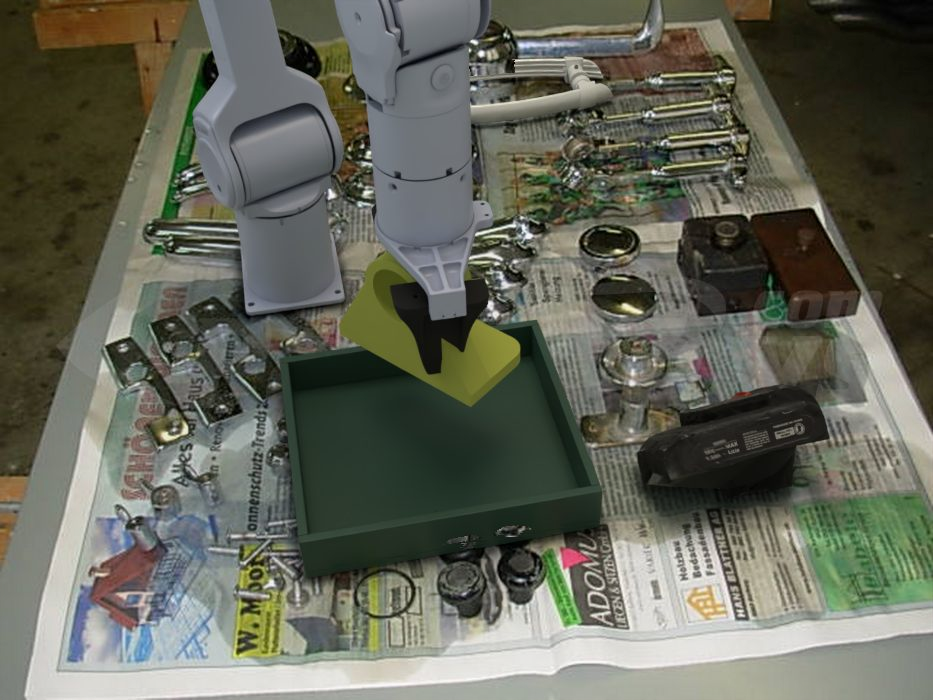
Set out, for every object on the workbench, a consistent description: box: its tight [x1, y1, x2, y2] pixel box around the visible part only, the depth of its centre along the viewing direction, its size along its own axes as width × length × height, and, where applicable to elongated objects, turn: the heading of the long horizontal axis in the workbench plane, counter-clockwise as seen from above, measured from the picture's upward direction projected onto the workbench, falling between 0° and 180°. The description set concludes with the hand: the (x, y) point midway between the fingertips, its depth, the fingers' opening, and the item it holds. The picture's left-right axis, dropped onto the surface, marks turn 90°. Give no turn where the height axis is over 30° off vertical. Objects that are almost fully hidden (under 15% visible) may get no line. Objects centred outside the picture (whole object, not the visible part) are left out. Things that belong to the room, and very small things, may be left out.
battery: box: [636, 383, 830, 501], centre depth 73 cm, size 12×8×7 cm
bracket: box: [338, 250, 520, 407], centre depth 71 cm, size 11×6×10 cm, turn 51°
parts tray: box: [278, 319, 604, 579], centre depth 76 cm, size 17×19×4 cm
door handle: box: [363, 56, 614, 125], centre depth 113 cm, size 3×10×25 cm
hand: (432, 333), depth 72 cm, fingers closed on bracket, 6 cm apart
